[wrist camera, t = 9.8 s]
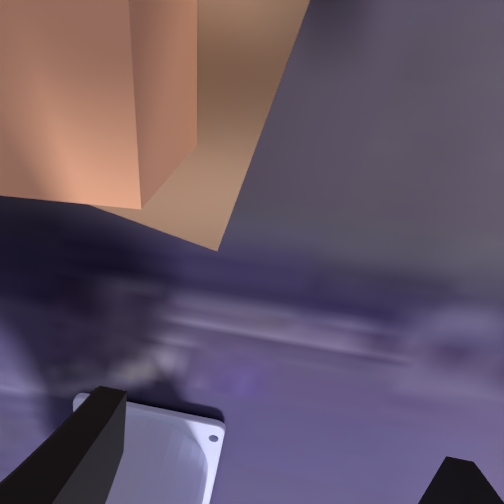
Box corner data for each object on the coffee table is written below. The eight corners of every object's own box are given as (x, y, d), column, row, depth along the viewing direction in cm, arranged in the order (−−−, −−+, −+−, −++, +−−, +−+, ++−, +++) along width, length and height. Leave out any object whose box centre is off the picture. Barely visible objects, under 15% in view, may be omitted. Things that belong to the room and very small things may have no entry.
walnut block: (233, 206, 18) (217, 251, 14) (17, 125, 17) (-56, 151, 14) (325, -43, 14) (334, -67, 10) (44, -165, 13) (-50, -234, 9)
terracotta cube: (196, 144, 13) (141, 209, 8) (47, 131, 13) (-84, 187, 9) (197, -41, 11) (123, -85, 6) (18, -53, 11) (-175, -103, 6)
